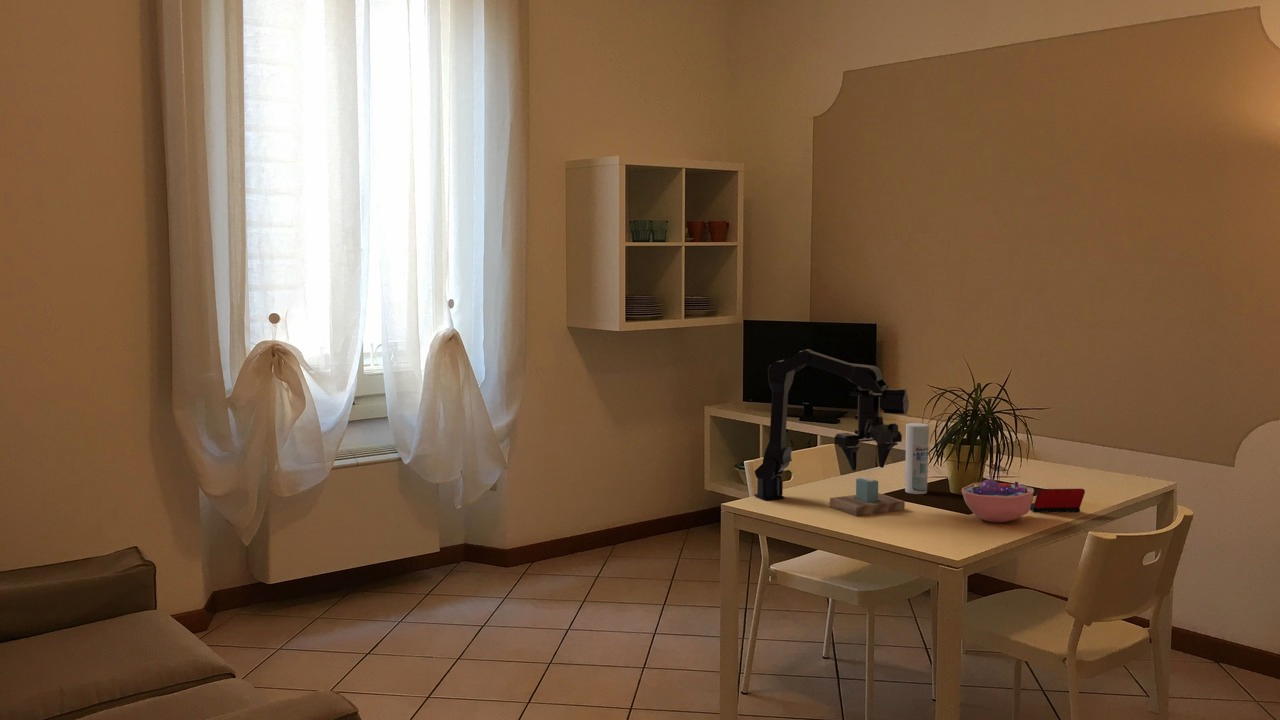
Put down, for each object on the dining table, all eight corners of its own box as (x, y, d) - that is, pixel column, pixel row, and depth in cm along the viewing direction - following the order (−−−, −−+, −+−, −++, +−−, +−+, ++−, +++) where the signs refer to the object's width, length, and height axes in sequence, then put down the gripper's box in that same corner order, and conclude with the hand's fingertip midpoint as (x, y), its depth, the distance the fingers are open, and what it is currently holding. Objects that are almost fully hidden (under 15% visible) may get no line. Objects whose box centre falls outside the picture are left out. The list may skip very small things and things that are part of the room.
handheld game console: (1068, 506, 279) (1069, 480, 279) (1085, 516, 269) (1086, 488, 268) (1023, 506, 280) (1024, 480, 279) (1037, 516, 269) (1038, 488, 268)
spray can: (917, 488, 302) (918, 422, 300) (932, 492, 296) (933, 425, 295) (900, 490, 299) (901, 423, 298) (914, 495, 294) (916, 426, 292)
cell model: (1050, 522, 262) (1052, 479, 261) (997, 532, 252) (998, 487, 251) (998, 509, 276) (999, 468, 275) (945, 518, 266) (946, 475, 265)
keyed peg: (855, 507, 279) (856, 477, 278) (866, 506, 280) (867, 476, 280) (866, 511, 274) (867, 480, 274) (877, 510, 276) (878, 479, 275)
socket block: (856, 516, 269) (856, 507, 268) (829, 506, 279) (829, 497, 279) (904, 510, 275) (904, 501, 275) (876, 501, 286) (877, 492, 286)
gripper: (858, 418, 264) (857, 477, 265) (915, 413, 271) (914, 471, 273) (833, 413, 274) (832, 470, 275) (889, 408, 282) (888, 464, 283)
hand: (867, 469), depth 276 cm, fingers open, 9 cm apart
